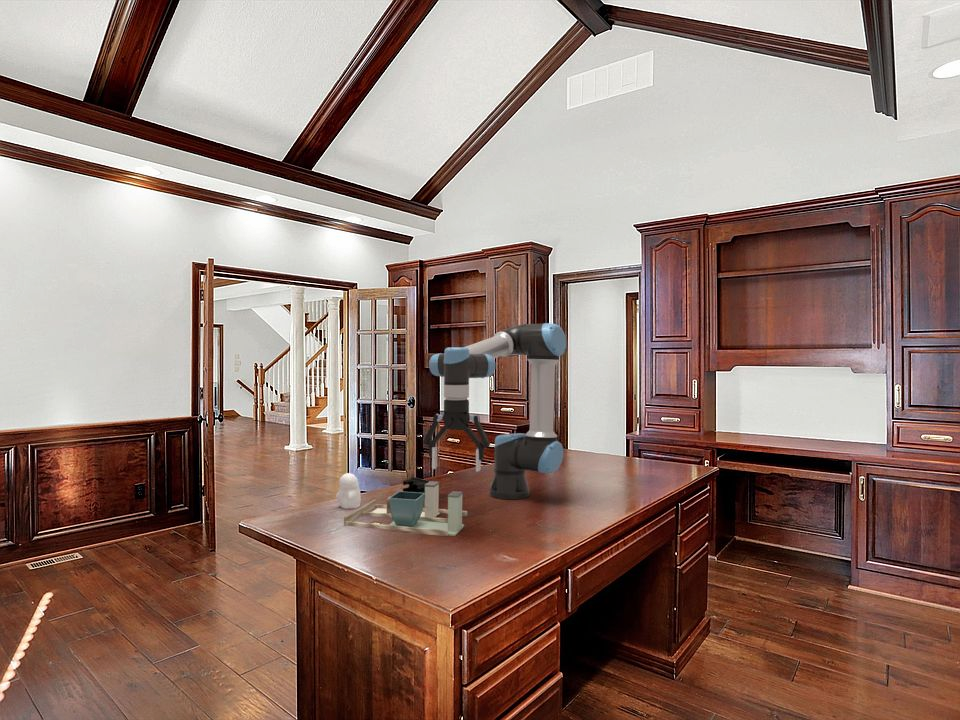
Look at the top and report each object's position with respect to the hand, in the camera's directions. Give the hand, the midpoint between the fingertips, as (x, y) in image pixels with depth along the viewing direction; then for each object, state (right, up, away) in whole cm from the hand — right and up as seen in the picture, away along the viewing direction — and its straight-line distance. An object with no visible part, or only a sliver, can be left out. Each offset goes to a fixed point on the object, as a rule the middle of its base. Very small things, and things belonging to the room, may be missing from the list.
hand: (456, 469), depth 168 cm
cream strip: (-18, -18, +15) cm, 29 cm away
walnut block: (-21, -17, +16) cm, 31 cm away
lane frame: (-15, -18, +9) cm, 25 cm away
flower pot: (-15, -18, +3) cm, 24 cm away
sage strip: (-10, -18, +2) cm, 21 cm away
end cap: (-16, -18, +40) cm, 46 cm away
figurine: (-37, -18, +23) cm, 48 cm away
